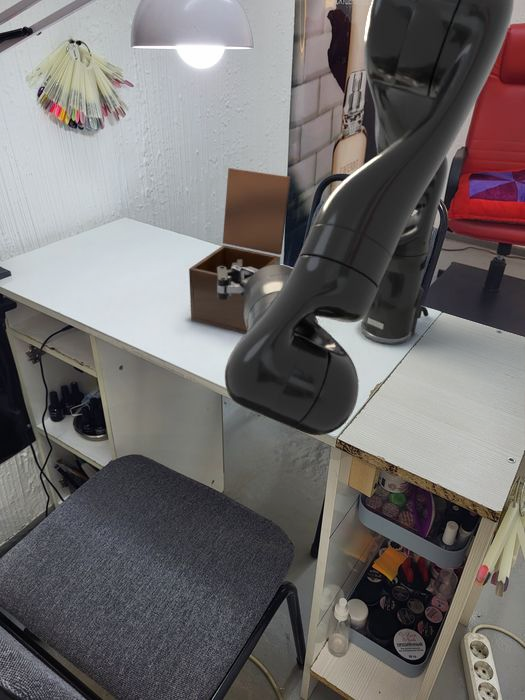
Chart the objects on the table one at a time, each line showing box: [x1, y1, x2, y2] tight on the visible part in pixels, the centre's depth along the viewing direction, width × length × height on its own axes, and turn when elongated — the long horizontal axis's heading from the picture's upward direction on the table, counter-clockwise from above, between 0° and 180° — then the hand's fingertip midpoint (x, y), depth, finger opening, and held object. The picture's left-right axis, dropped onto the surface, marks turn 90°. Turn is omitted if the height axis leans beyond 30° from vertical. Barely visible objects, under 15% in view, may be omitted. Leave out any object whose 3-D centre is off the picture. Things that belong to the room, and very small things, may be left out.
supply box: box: [188, 244, 281, 335], centre depth 102 cm, size 14×13×11 cm
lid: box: [222, 167, 292, 256], centre depth 101 cm, size 14×13×1 cm
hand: (270, 267), depth 71 cm, fingers open, 8 cm apart
